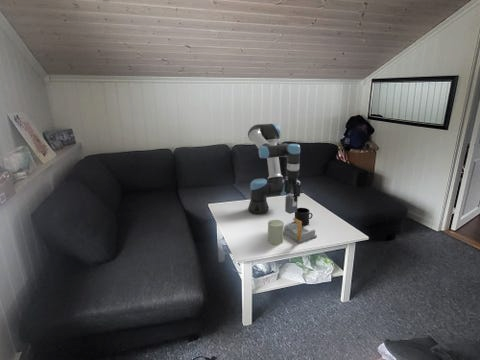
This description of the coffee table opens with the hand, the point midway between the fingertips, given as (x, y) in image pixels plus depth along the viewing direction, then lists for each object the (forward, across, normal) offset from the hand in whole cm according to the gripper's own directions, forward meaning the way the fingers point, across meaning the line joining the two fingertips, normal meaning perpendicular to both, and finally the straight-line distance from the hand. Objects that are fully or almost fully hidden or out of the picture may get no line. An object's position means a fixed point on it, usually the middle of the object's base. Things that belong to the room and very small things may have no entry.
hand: (291, 204), depth 188 cm
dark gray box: (+5, 0, 0) cm, 5 cm away
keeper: (+15, +13, -4) cm, 20 cm away
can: (+15, +11, -20) cm, 27 cm away
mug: (+15, +1, +10) cm, 18 cm away
